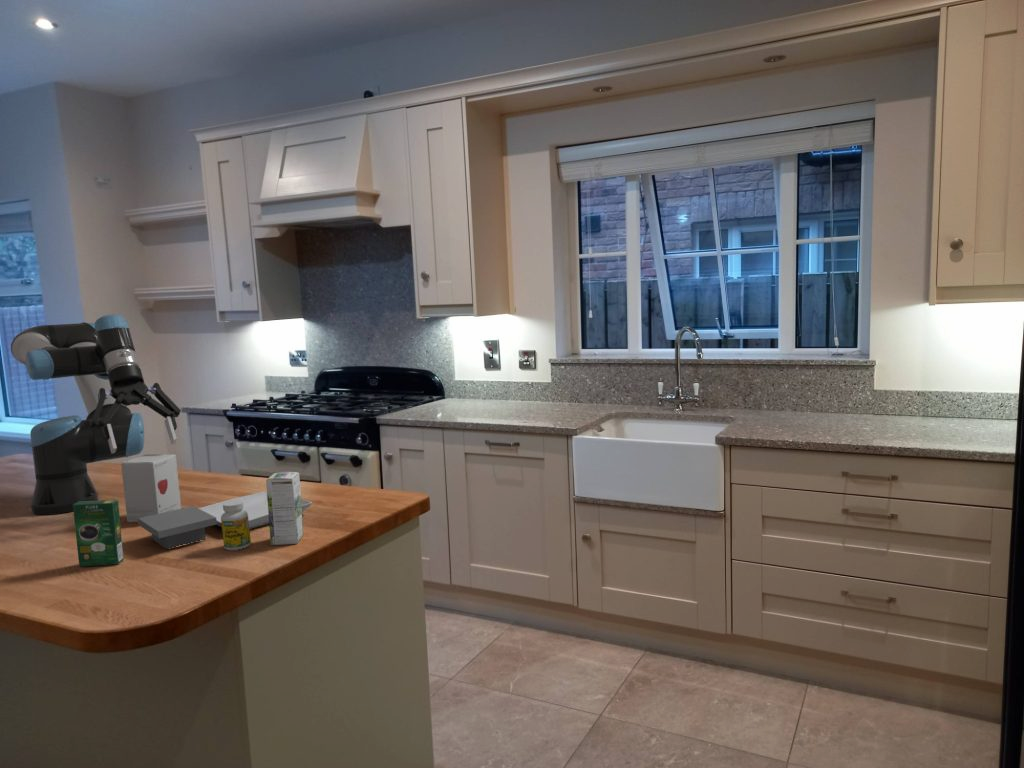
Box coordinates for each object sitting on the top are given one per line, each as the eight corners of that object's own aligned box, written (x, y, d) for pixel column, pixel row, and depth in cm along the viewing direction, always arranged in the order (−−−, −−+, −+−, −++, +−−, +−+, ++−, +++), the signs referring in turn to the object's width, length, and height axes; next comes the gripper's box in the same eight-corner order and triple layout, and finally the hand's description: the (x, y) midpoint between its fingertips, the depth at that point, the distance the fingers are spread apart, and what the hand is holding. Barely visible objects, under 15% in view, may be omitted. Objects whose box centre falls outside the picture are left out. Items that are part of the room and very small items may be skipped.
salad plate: (189, 522, 176) (188, 508, 176) (270, 501, 191) (269, 488, 191) (231, 540, 162) (229, 525, 161) (315, 515, 177) (314, 501, 177)
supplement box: (159, 523, 175) (152, 462, 173) (126, 523, 177) (119, 462, 175) (183, 512, 184) (177, 453, 182) (151, 511, 186) (145, 453, 184)
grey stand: (140, 540, 163) (137, 518, 163) (195, 526, 171) (193, 505, 171) (160, 554, 153) (158, 531, 152) (218, 539, 161) (216, 517, 160)
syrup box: (277, 537, 161) (271, 472, 159) (304, 535, 161) (299, 470, 159) (270, 546, 155) (264, 479, 153) (298, 544, 156) (292, 477, 154)
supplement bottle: (252, 541, 159) (248, 498, 158) (249, 549, 154) (245, 504, 153) (226, 544, 158) (221, 500, 157) (222, 552, 153) (217, 507, 151)
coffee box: (126, 559, 151) (119, 497, 149) (119, 565, 148) (112, 501, 146) (85, 562, 151) (78, 500, 149) (78, 567, 148) (70, 504, 146)
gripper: (69, 367, 174) (89, 447, 167) (179, 359, 191) (201, 431, 184) (65, 383, 179) (84, 461, 172) (172, 373, 196) (193, 444, 189)
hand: (144, 446), depth 178 cm, fingers open, 13 cm apart
